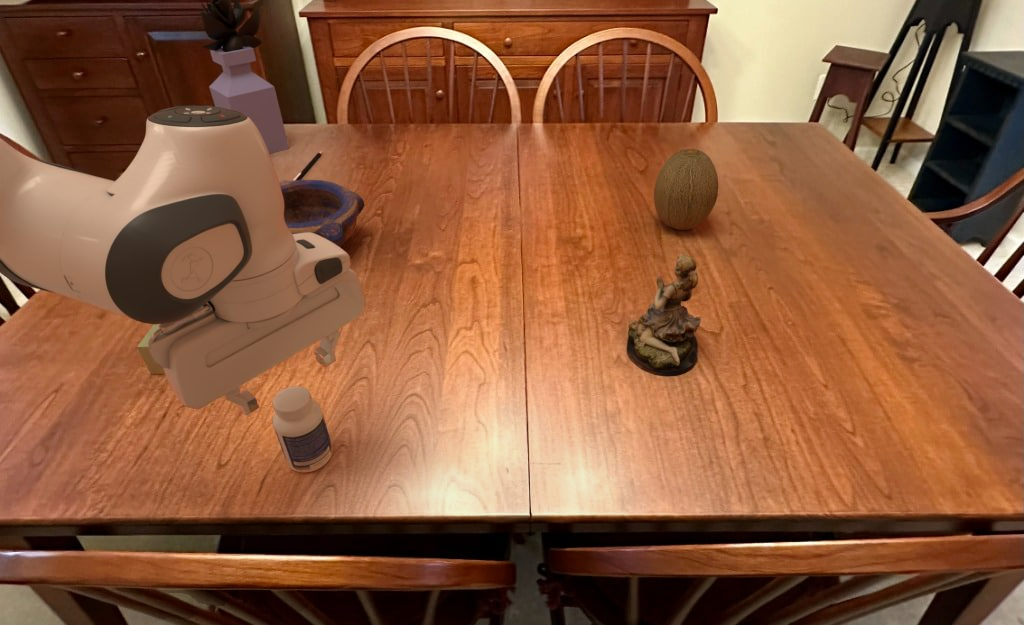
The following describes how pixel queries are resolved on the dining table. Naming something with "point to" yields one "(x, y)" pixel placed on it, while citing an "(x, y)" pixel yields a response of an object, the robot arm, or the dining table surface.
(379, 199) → the dining table surface
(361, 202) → the bowl
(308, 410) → the pill bottle
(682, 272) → the figurine
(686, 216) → the fruit
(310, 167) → the pen
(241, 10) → the vase
